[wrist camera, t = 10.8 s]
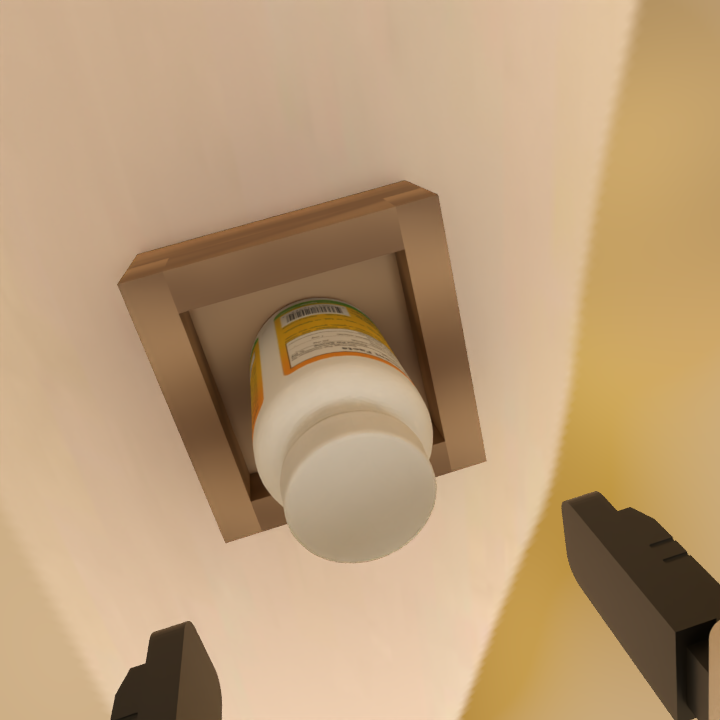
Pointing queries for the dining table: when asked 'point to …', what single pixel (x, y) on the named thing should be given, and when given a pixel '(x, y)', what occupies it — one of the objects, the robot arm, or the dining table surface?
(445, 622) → the dining table surface
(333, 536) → the supplement bottle
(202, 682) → the robot arm
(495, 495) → the dining table surface
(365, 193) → the wooden open box
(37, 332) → the dining table surface
